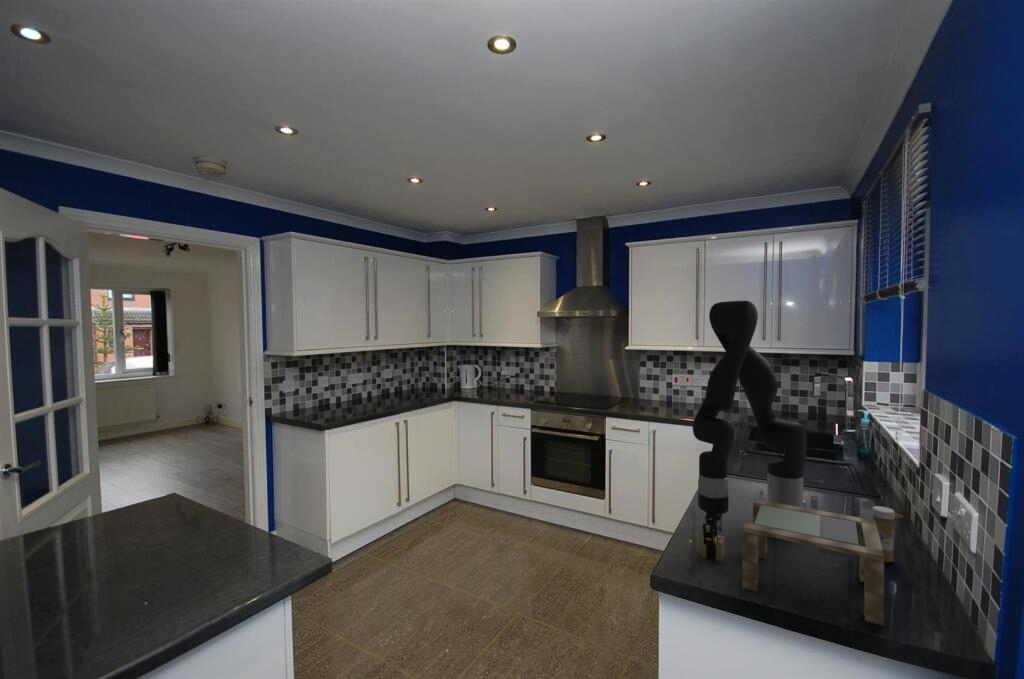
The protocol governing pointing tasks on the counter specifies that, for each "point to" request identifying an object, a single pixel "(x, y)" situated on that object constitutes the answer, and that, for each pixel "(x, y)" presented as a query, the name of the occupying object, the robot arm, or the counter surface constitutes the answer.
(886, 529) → the sprinkles bottle
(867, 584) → the trapdoor frame
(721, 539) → the block
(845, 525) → the trapdoor
